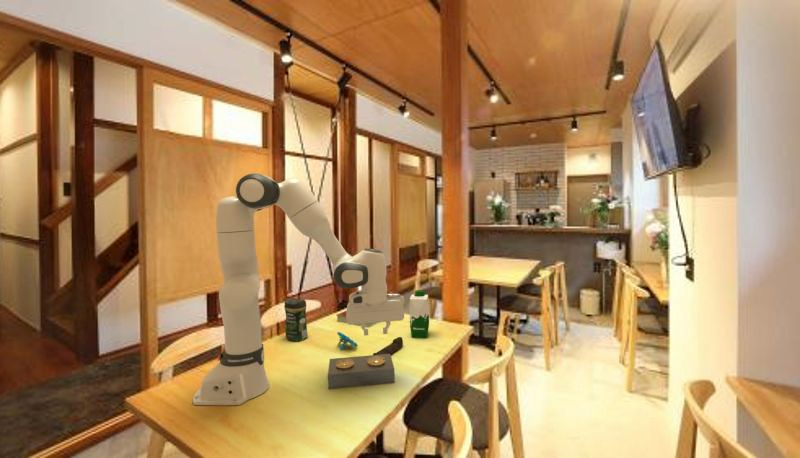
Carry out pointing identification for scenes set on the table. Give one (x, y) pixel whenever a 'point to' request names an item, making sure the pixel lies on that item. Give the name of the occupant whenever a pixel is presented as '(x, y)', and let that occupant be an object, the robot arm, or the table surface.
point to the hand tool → (391, 347)
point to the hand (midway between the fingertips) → (375, 334)
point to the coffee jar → (295, 319)
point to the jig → (359, 372)
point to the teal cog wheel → (345, 340)
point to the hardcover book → (342, 318)
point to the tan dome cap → (376, 361)
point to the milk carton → (419, 314)
